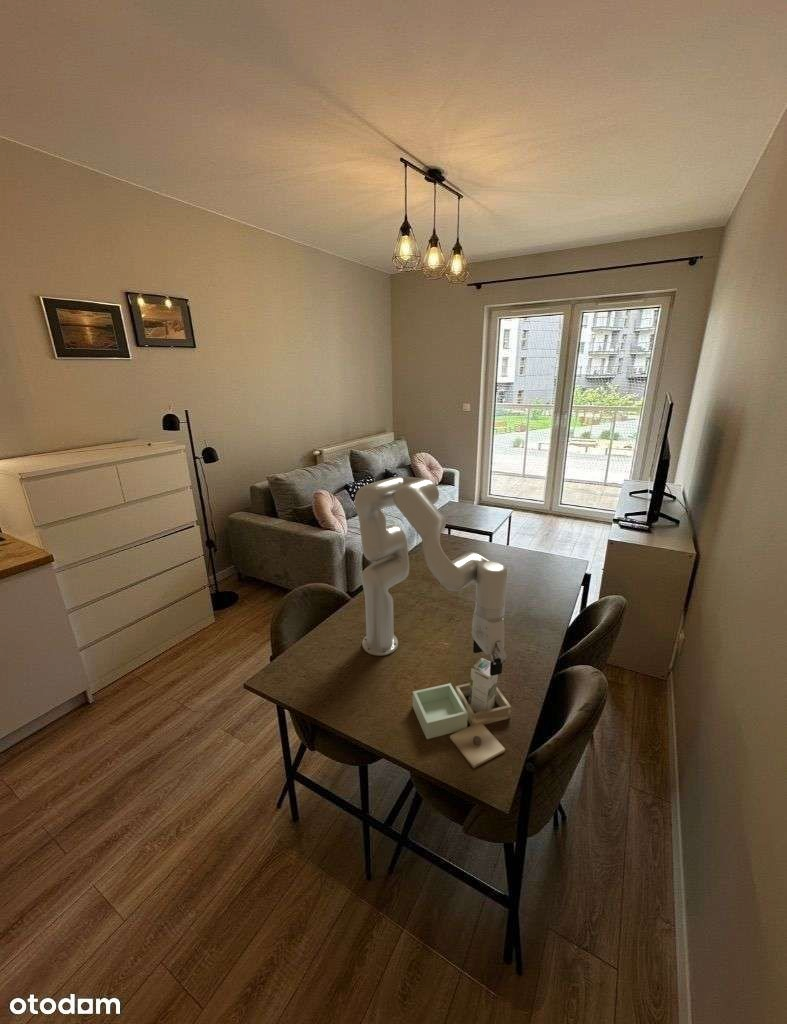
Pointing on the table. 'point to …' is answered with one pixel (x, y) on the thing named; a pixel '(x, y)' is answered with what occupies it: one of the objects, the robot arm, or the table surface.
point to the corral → (488, 715)
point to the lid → (477, 744)
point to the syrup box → (482, 687)
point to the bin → (439, 710)
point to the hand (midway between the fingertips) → (486, 662)
